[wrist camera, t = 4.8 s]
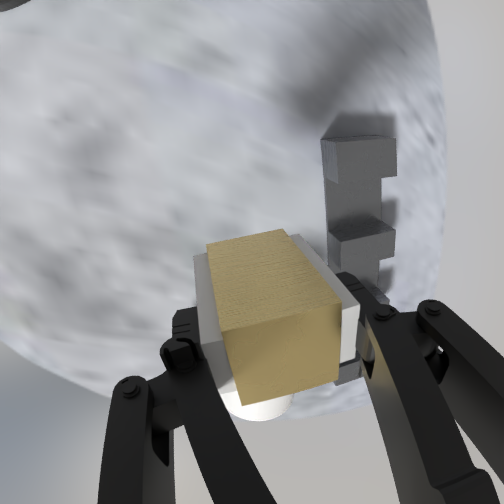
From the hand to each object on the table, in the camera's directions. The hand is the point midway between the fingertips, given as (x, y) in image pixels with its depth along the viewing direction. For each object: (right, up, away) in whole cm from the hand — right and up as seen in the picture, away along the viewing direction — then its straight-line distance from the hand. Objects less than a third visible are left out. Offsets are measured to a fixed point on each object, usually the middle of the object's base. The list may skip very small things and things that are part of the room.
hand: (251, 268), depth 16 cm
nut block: (0, 0, +1) cm, 1 cm away
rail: (+11, -1, +16) cm, 19 cm away
